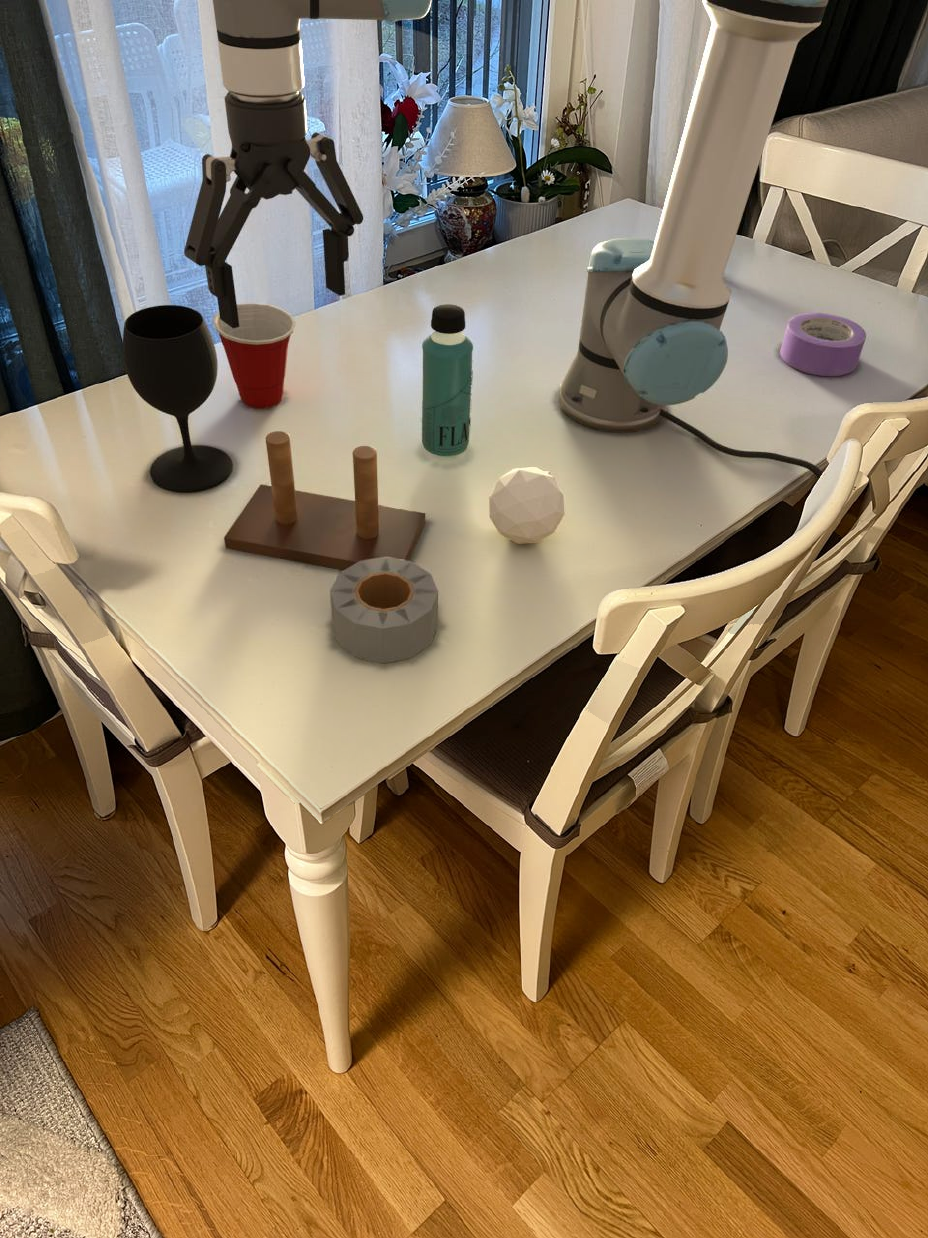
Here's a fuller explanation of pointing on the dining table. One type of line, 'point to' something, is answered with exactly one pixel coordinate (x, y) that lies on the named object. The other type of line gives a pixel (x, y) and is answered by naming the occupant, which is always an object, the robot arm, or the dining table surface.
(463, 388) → the beverage bottle
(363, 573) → the duct tape
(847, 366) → the tape roll
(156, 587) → the dining table surface
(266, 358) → the plastic cup
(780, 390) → the dining table surface
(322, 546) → the peg rack
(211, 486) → the wine glass
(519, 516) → the white faceted ball
